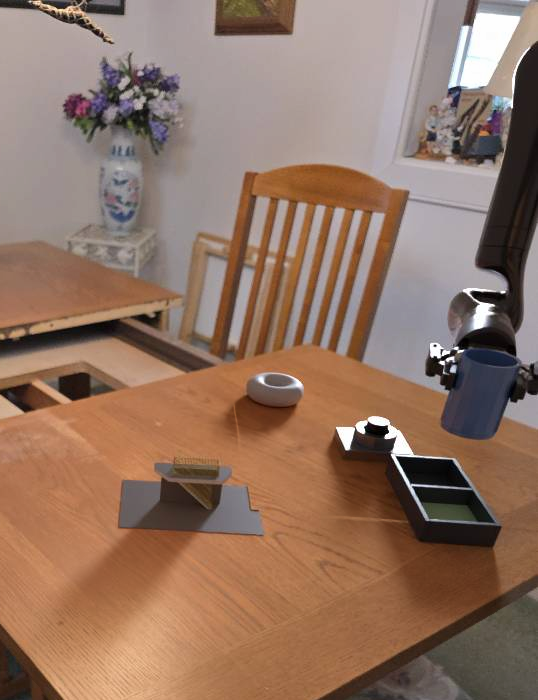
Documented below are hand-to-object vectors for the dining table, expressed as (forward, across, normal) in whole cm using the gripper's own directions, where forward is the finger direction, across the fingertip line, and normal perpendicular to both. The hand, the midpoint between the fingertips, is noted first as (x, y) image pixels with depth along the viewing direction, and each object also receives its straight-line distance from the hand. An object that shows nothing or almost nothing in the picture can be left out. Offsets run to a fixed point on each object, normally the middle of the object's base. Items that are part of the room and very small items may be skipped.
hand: (483, 388), depth 82 cm
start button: (-16, -11, +15) cm, 24 cm away
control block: (-16, -11, +18) cm, 26 cm away
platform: (+12, -30, +18) cm, 37 cm away
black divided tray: (-3, -1, +18) cm, 18 cm away
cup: (-2, 0, +6) cm, 6 cm away
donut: (-28, -29, +18) cm, 45 cm away
